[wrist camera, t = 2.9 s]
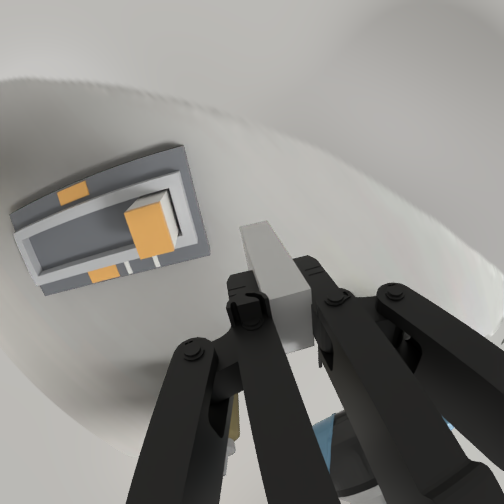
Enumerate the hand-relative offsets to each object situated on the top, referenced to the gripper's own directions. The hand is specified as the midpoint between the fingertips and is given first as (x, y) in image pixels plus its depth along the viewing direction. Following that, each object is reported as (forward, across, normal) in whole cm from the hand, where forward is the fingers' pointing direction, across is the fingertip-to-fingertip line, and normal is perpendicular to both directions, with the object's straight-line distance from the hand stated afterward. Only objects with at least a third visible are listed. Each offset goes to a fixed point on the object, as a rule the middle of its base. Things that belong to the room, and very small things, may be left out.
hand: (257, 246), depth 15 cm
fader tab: (+14, +8, 0) cm, 16 cm away
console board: (+16, +16, 0) cm, 22 cm away
